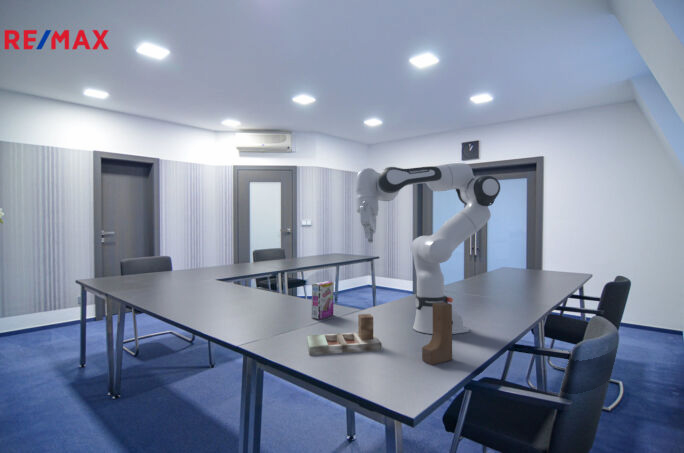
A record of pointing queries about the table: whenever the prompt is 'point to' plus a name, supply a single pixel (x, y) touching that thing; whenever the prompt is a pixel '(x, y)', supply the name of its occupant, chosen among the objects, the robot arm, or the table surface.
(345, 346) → the track
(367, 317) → the walnut block
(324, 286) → the candy bar box
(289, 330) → the table surface
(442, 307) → the wooden block
